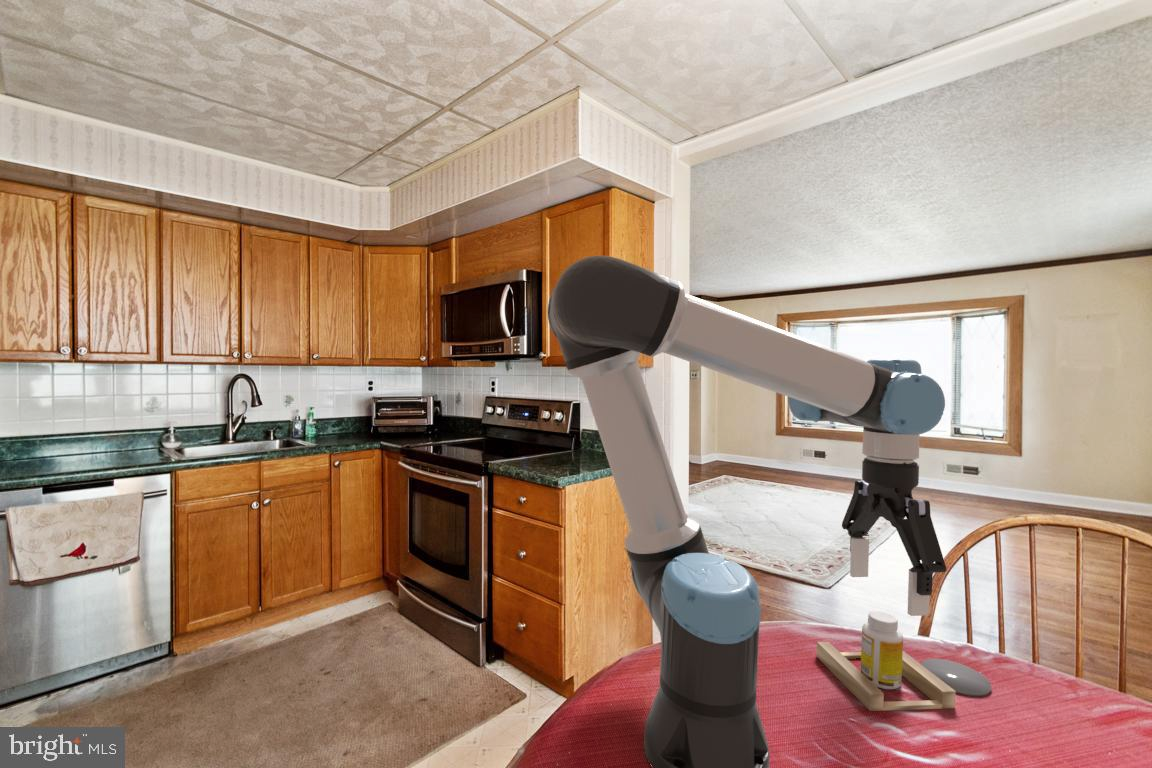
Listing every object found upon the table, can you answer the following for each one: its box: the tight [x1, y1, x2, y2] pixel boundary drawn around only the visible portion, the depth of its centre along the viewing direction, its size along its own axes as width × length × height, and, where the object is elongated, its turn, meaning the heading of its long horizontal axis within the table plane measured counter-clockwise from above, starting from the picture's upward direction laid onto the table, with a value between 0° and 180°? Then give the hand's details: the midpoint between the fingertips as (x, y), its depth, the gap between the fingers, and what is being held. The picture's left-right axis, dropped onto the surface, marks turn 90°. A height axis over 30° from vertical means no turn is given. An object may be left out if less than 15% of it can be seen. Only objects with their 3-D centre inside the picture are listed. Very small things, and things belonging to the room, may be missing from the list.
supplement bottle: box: [860, 610, 904, 690], centre depth 81 cm, size 6×6×10 cm
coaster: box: [920, 658, 992, 697], centre depth 83 cm, size 9×9×1 cm
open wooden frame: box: [816, 641, 957, 712], centre depth 82 cm, size 13×14×2 cm
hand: (886, 594), depth 81 cm, fingers open, 13 cm apart
